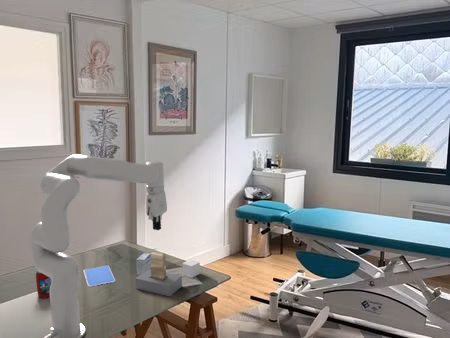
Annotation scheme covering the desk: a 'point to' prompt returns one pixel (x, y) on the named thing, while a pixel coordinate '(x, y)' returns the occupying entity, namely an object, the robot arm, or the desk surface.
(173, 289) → the grey slotted block
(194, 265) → the white cube
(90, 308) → the desk surface
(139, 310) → the desk surface
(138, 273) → the medicine box
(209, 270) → the desk surface
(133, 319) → the desk surface
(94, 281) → the tablet computer
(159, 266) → the wooden block
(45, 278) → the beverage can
